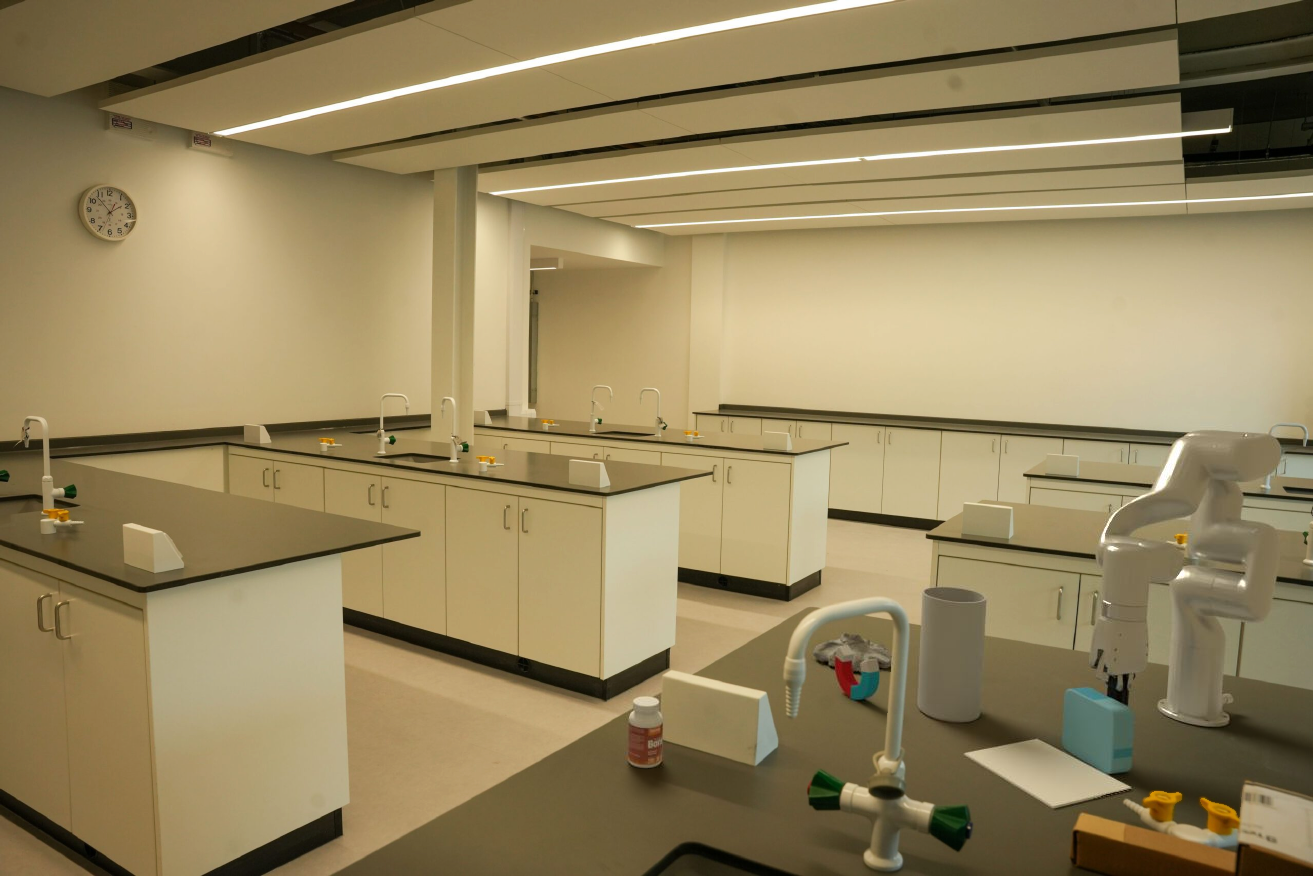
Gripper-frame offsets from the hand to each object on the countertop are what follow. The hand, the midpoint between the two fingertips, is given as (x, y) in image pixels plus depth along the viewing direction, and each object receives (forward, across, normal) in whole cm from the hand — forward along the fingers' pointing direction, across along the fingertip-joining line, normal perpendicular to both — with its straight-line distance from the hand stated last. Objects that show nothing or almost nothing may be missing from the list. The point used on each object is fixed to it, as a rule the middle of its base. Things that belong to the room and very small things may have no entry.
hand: (1116, 708), depth 152 cm
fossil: (+10, +15, -59) cm, 61 cm away
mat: (+9, +17, 0) cm, 20 cm away
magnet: (+10, +29, -40) cm, 50 cm away
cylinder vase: (+10, +15, -27) cm, 32 cm away
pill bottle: (+10, +83, -28) cm, 88 cm away
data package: (+10, +5, 0) cm, 11 cm away
